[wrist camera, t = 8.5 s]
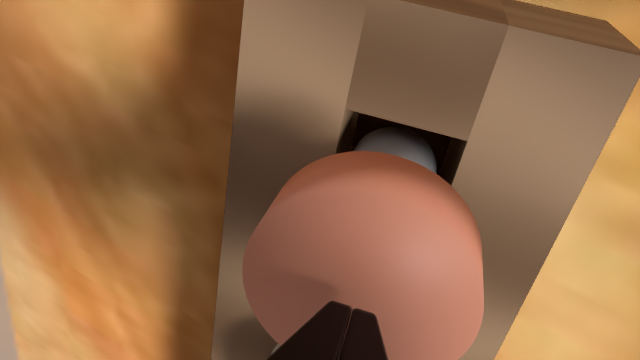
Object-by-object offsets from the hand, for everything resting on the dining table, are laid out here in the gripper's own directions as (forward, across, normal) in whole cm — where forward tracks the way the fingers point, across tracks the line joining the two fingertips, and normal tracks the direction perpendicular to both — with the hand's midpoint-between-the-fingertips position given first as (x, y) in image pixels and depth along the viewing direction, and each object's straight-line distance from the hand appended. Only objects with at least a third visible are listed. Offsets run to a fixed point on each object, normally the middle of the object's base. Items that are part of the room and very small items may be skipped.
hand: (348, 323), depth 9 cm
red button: (+6, 0, 0) cm, 6 cm away
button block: (+10, 0, +8) cm, 12 cm away
